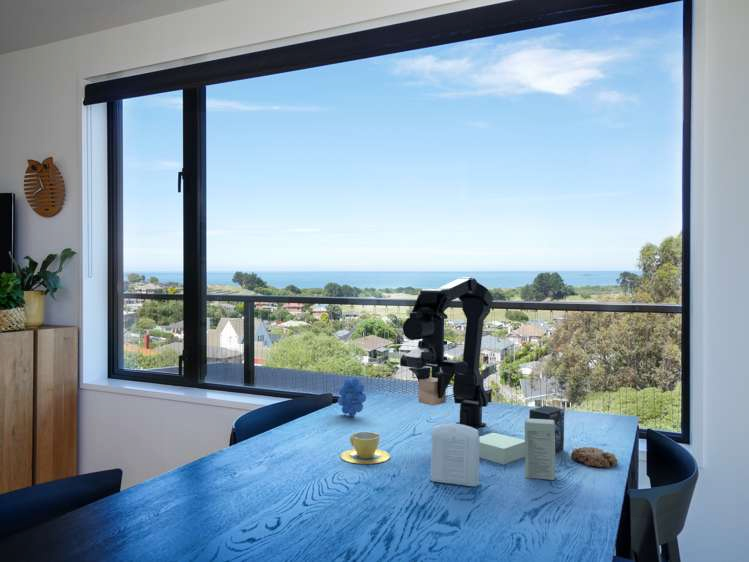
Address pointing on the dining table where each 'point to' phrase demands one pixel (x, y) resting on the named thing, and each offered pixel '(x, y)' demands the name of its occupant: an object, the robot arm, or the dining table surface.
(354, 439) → the cup
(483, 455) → the sage base block
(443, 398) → the terracotta block
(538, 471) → the skincare box
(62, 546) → the dining table surface
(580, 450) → the cookie
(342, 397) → the grapes
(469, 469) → the white gravestone
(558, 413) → the box
